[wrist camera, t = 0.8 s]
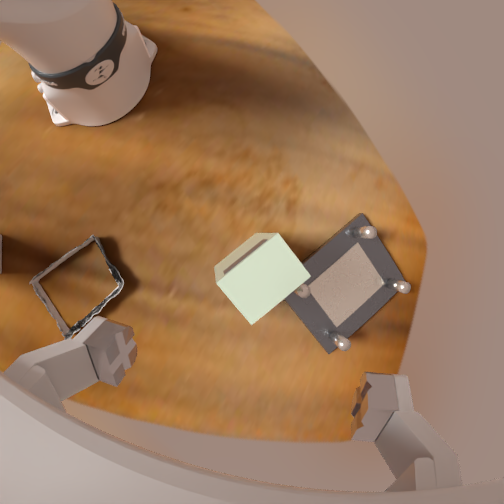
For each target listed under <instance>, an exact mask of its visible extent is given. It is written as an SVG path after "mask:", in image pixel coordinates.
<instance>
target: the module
mask: <svg viewBox="0 0 504 504" xmlns="http://www.w3.org/2000/svg"><path fill="white" fill-rule="evenodd" d="M214 269H215V277H216V283H217V285H218V286H219V287H220V288H221V290H222V291H223V292H224V293H225V294H226V296H227V297H228V298H229V299H230V300H231V301H232V303H233V304H234V305H235V306H236V307H237V309H238V310H239V311H240V312H241V313H242V314H243V316H244V317H245V318H246V319H247V320H248V322H249V323H250V324H251V325H252V324H254V323H255V322H256V321H257V320H259V319H260V318H261V317H262V316H264V315H265V314H266V313H267V312H269V311H270V310H271V309H272V308H273V307H275V306H276V305H277V304H278V303H280V302H281V301H282V300H283V299H284V298H286V297H287V296H288V295H289V294H290V293H292V292H293V291H294V290H295V289H297V288H298V287H299V286H300V285H301V284H302V283H304V282H305V281H306V280H307V279H308V278H310V277H311V275H310V274H309V273H308V271H307V270H306V269H305V267H304V266H303V265H302V263H301V262H300V261H299V260H298V258H297V257H296V256H295V254H294V253H293V252H292V250H291V249H290V248H289V246H288V245H287V244H286V243H285V241H284V240H283V239H282V237H281V236H280V235H279V233H255V234H254V235H253V236H252V237H250V238H249V239H248V240H247V241H245V242H244V243H243V244H242V245H240V246H239V247H238V248H237V249H235V250H234V251H233V252H232V253H230V254H229V255H228V256H227V257H225V258H224V259H223V260H222V261H220V262H219V263H218V264H217V265H216V266H214Z"/></svg>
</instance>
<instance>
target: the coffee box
mask: <svg viewBox="0 0 504 504" xmlns="http://www.w3.org/2000/svg"><path fill="white" fill-rule="evenodd" d="M1 273H2V235H1V234H0V274H1Z"/></svg>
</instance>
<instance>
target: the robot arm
mask: <svg viewBox="0 0 504 504" xmlns="http://www.w3.org/2000/svg"><path fill="white" fill-rule="evenodd" d="M0 41H2V42H4V43H5V44H7V45H8V46H10V47H11V48H12V49H14V50H15V51H16V52H17V53H19V54H20V55H21V56H22V57H23V58H25V59H26V60H27V61H28V62H29V66H30V68H31V70H32V72H31V73H32V76H33V78H34V80H35V81H36V82H37V83H38V82H40V81H41V83H40V84H39V85H38V86H37V87H38V90H39V91H40V92H41V93H43V92H44V94H43V97H44V99H45V100H46V101H47V105H48V108H49V111H50V114H51V118H52V121H53V122H54V124H55V125H57V126H65V125H69V124H80V125H84V126H100V125H105V124H108V123H111V122H113V121H115V120H117V119H119V118H121V117H122V116H124V115H125V114H127V113H128V112H129V111H131V110H132V109H133V108H134V107H135V106H136V105H137V103H138V102H139V101H140V100H141V98H142V97H143V95H144V94H145V92H146V90H147V87H148V84H149V81H150V71H151V63H152V61H153V59H154V57H155V55H156V53H157V46H156V44H155V43H154V42H152V41H151V40H149V39H148V38H146V37H144V36H143V35H141V33H140V30H139V28H138V27H137V26H136V25H134V26H133V25H132V24H130V23H129V22H127V21H125V20H124V17H123V15H122V13H121V11H120V10H119V8H118V7H117V5H116V4H114V3H113V2H112V0H0ZM57 112H58V113H57ZM133 336H134V332H133V328H132V327H131V326H128V325H125V324H122V323H119V322H116V321H113V320H110V319H106V318H104V317H101V316H96V317H94V318H93V319H92V320H91V321H90V322H89V323H88V324H87V325H86V326H85V327H84V328H83V329H82V330H81V331H80V332H79V333H78V334H77V335H76V336H75V337H74V338H73V339H70V338H69V339H66V340H63V341H61V342H58V343H55V344H52V345H49V346H46V347H43V348H40V349H37V350H34V351H31V352H29V353H26V354H23V355H21V356H20V357H19V358H18V359H17V360H16V361H15V362H14V363H13V364H12V365H11V366H10V367H9V368H8V369H7V370H6V371H5V372H4V373H2V372H0V504H504V477H503V478H498V479H494V480H489V481H485V482H480V483H474V484H468V485H462V479H461V472H460V467H459V460H458V455H457V454H456V452H454V450H453V449H452V448H451V447H450V446H449V445H448V444H447V443H446V441H445V440H444V439H443V438H442V437H441V436H440V435H439V434H438V433H437V432H436V431H435V429H434V428H433V427H432V426H431V425H430V424H429V423H428V422H427V421H426V420H425V419H424V418H423V416H422V415H421V414H420V413H419V412H414V408H413V401H412V396H411V391H410V385H409V381H408V377H407V376H406V375H400V374H385V373H373V372H364V373H363V374H362V376H361V379H360V386H359V387H358V388H356V391H355V393H354V396H353V400H352V408H351V414H352V415H353V417H354V420H353V422H352V424H351V440H356V441H368V442H375V445H376V447H377V448H378V450H379V452H380V453H381V455H382V457H383V458H384V460H385V461H386V463H387V465H388V466H389V468H390V470H391V471H392V473H393V475H394V476H395V478H396V479H397V480H396V481H395V482H394V483H393V484H392V485H391V486H390V487H389V488H387V489H386V490H385V491H384V492H352V491H333V490H321V489H311V488H302V487H294V486H287V485H280V484H274V483H268V482H262V481H257V480H251V479H247V478H242V477H238V476H233V475H229V474H225V473H220V472H216V471H213V470H209V469H206V468H202V467H198V466H195V465H192V464H188V463H185V462H182V461H178V460H176V459H172V458H169V457H167V456H164V455H160V454H157V453H155V452H152V451H150V450H147V449H144V448H142V447H139V446H137V445H134V444H132V443H129V442H126V441H124V440H122V439H120V438H117V437H115V436H113V435H110V434H108V433H106V432H104V431H102V430H99V429H97V428H95V427H93V426H91V425H89V424H87V423H85V422H83V421H81V420H79V419H77V418H75V417H73V416H71V415H69V414H68V413H67V412H66V409H65V407H64V405H63V404H62V402H61V401H63V400H65V399H67V398H69V397H71V396H72V395H74V394H76V393H78V392H80V391H82V390H83V389H85V388H87V387H89V386H91V385H93V384H94V383H96V382H98V380H100V381H102V382H105V383H108V384H111V385H113V386H116V387H117V386H118V385H119V383H120V382H121V381H122V379H123V378H124V376H125V370H126V369H128V368H130V367H132V365H133V364H134V362H135V360H136V356H137V345H136V343H135V342H134V340H133V339H132V337H133Z"/></svg>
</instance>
